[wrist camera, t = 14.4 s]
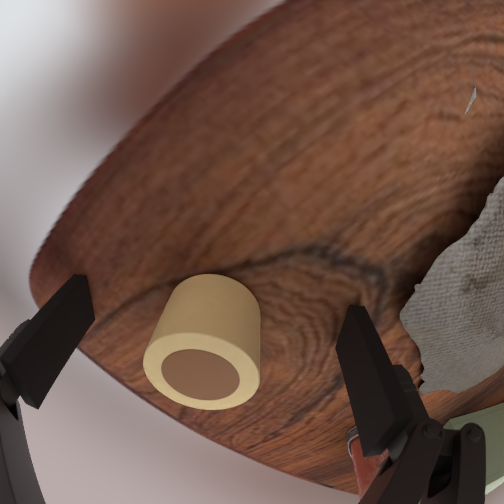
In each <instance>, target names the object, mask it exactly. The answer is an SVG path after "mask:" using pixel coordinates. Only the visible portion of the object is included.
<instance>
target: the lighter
mask: <svg viewBox="0 0 504 504" xmlns="http://www.w3.org/2000/svg"><path fill="white" fill-rule="evenodd" d="M346 439H347V446H348V451H349V453H350V456H351V458H352V459H353V464H354V469H355V474H356V480H357V485H358V491H359V496H360V500H361V499H362V497H363V496H364V494H365V493H366V491H367V490H368V488H369V486H370V485H371V483H372V482H373V480H374V478H375V477H376V475H377V473H378V472H379V470H380V468H381V467H378V466H379V465H380V463H381V462H382V461H383V460H384V459H385V458H386V457H387V456H388V455H389V452H388V448H387V449H386V450H385V451H384V452H383V453H382V454H381V455H376V456H370V457H363V453H362V448H361V444H360V440H359V435H358V431H357V427H356V426H355V427H353V428H352V429H350V430H349V431H348V432H347V434H346Z"/></svg>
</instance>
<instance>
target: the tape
mask: <svg viewBox="0 0 504 504" xmlns="http://www.w3.org/2000/svg"><path fill="white" fill-rule="evenodd" d="M143 365H144V370H145V373H146V375H147V377H148V379H149V380H150V382H151V383H152V384H153V385H154V387H155V388H157V389H158V390H159V391H160V392H161V393H162V394H164V395H165V396H167V397H168V398H170V399H172V400H174V401H176V402H178V403H180V404H183V405H186V406H189V407H193V408H198V409H206V410H220V409H227V408H231V407H235V406H238V405H240V404H242V403H244V402H245V401H247V400H248V399H250V398H251V397H252V396H253V395H254V393H255V392H256V390H257V389H258V386H259V383H260V308H259V305H258V303H257V300H256V299H255V297H254V295H253V294H252V293H251V292H250V291H249V290H248V289H247V288H246V287H245V286H244V285H242V284H241V283H239V282H237V281H236V280H234V279H231V278H229V277H226V276H222V275H216V274H202V275H196V276H193V277H190V278H188V279H186V280H184V281H183V282H181V283H180V284H179V285H178V286H177V287H176V288H175V289H174V290H173V292H172V294H171V296H170V298H169V300H168V302H167V304H166V306H165V308H164V311H163V313H162V315H161V317H160V319H159V321H158V324H157V326H156V328H155V330H154V333H153V335H152V337H151V339H150V342H149V344H148V346H147V348H146V351H145V353H144V357H143Z"/></svg>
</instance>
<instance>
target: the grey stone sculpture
mask: <svg viewBox="0 0 504 504" xmlns="http://www.w3.org/2000/svg"><path fill="white" fill-rule="evenodd" d="M475 87H476V86H475ZM475 98H476V88H475V90H474V92H473V95H472V97H471V100H470V102H469V105H468V107H467V109H466V111H465V113H466V112H467V111H468V110H469V108H470V106H471V103H472V102H473V100H474V99H475ZM414 288H415V292H414V294H413V295H412V296H411V298H410V299H409V300H408V302H407V303H406V305H405V306H404V308H403V309H402V310H401V312H400V319H401V321H402V323H403V329H405V330H406V331H407V332H408V333H409V336H410V337H411V339H412V340H414V341H415V343H416V344H417V346H418V347H419V350H420V353H421V362H422V364H423V366H424V371H423V373H422V374H421V376H420V377H421V378H422V380H424V381H425V382H424V383H423V384H422V385H421V386H420V388H419V391H420V392H421V393H422V394H423V395H425V394H427V393H430V392H434V391H438V390H450V391H452V392H453V393H458V392H463V391H465V390H466V389H468V388H470V387H473V386H475V385H477V384H479V383H480V382H482V381H483V380H484V379H486V378H488V377H489V376H491V375H493V374H494V373H496V372H497V371H498V370H499V369H500V368H501V367H502V366H503V365H504V177H503V178H502V179H500V180H499V182H498V184H497V186H496V187H495V188H494V193H493V194H492V193H490V194H489V196H488V197H487V201H486V205H485V208H484V209H483V210H482V212H481V214H480V217H479V218H478V219H477V221H476V222H475V223H474V224H473V225H472V226H471V227H470V229H469V231H468V233H467V234H466V235H465V236H464V237H462V238H461V239H460V240H458V241H457V242H455V243H453V244H452V245H450V246H448V247H447V248H446V249H445V250H444V251H443V252H442V253H441V254H440V255H439V256H438V257H437V259H436V260H435V262H434V263H433V265H432V267H431V268H430V270H429V271H428V273H427V275H426V276H425V278H424V279H423V281H422V282H421V284H416V285H415V286H414Z"/></svg>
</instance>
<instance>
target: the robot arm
mask: <svg viewBox="0 0 504 504" xmlns="http://www.w3.org/2000/svg"><path fill="white" fill-rule="evenodd" d="M94 320H95V316H94V312H93V308H92V303H91V298H90V293H89V288H88V283H87V278H86V276H84V275H78V274H74V275H73V276H72V277H71V278H70V279H69V280H68V281H67V282H66V283H65V284H64V285H63V286H62V287H61V288H60V289H59V290H58V291H57V292H56V293H55V294H54V295H53V296H52V297H51V298H50V299H49V300H48V302H47V303H46V304H45V305H44V306H43V307H42V308H41V309H40V310H39V311H38V313H37V314H36V315H35V316H34V317H33V318H32V319H31V320H29V319H28V320H27V321H25V322H23V323H22V324H20V325H19V326H18V327H17V328H16V329H15V331H14V333H12V334H11V335H10V336H9V339H7V340H6V341H5V342H4V344H3V345H2V346H1V347H0V504H45V501H44V498H43V495H42V492H41V490H40V487H39V484H38V481H37V477H36V474H35V471H34V468H33V464H32V460H31V457H30V453H29V449H28V445H27V440H26V436H25V431H24V426H23V421H22V415H21V409H20V404H19V402H18V400H17V399H18V398H19V396H21V397H22V399H23V400H24V402H25V403H26V404H28V405H30V406H32V407H34V408H36V409H39V407H40V406H41V404H42V402H43V400H44V399H45V397H46V395H47V393H48V392H49V390H50V388H51V387H52V385H53V383H54V382H55V380H56V378H57V377H58V375H59V374H60V372H61V370H62V368H63V367H64V366H65V364H66V362H67V361H68V359H69V358H70V356H71V355H72V353H73V351H74V350H75V348H76V347H77V345H78V344H79V342H80V341H81V339H82V338H83V336H84V335H85V333H86V332H87V330H88V329H89V328H90V326H91V325H92V323H93V322H94ZM335 348H336V352H337V355H338V359H339V362H340V366H341V369H342V373H343V377H344V380H345V384H346V388H347V392H348V395H349V399H350V403H351V407H352V411H353V415H354V419H355V423H356V427H357V431H358V435H359V440H360V444H361V448H362V453H363V457H370V456H376V455H381V454H382V453H383V452H384V451H385V450H386V449H387V448H388V452H389V455H388V456H387V457H386V458H385V459H384V460H383V461H382V462H381V463H380V465H379V466H378V467H381V468H380V470H379V472H378V473H377V475H376V477H375V478H374V480H373V482H372V483H371V485H370V486H369V488H368V490H367V491H366V493H365V494H364V496H363V497H362V499H361V500H360V502H359V503H358V504H419V502H420V504H484V503H485V489H486V438H485V433H484V431H483V429H482V427H480V426H479V425H478V424H476V423H467V424H465V425H464V426H463V427H462V428H461V429H460V430H454V429H444V428H443V426H442V425H441V424H440V423H439V422H438V421H436V420H434V419H431V418H429V416H428V414H427V411H426V409H425V407H424V405H423V402H422V400H421V398H420V396H419V393H418V391H416V390H417V389H416V387H415V385H414V384H413V380H412V378H411V376H410V374H409V372H408V371H407V370H406V369H405V368H404V367H403V366H402V365H392V363H391V361H390V359H389V357H388V354H387V352H386V350H385V348H384V346H383V344H382V341H381V339H380V337H379V335H378V333H377V331H376V329H375V327H374V325H373V323H372V321H371V319H370V316H369V314H368V312H367V310H366V308H365V306H354V305H350V307H349V310H348V313H347V316H346V319H345V322H344V325H343V328H342V331H341V334H340V336H339V339H338V342H337V345H336V347H335Z"/></svg>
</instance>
